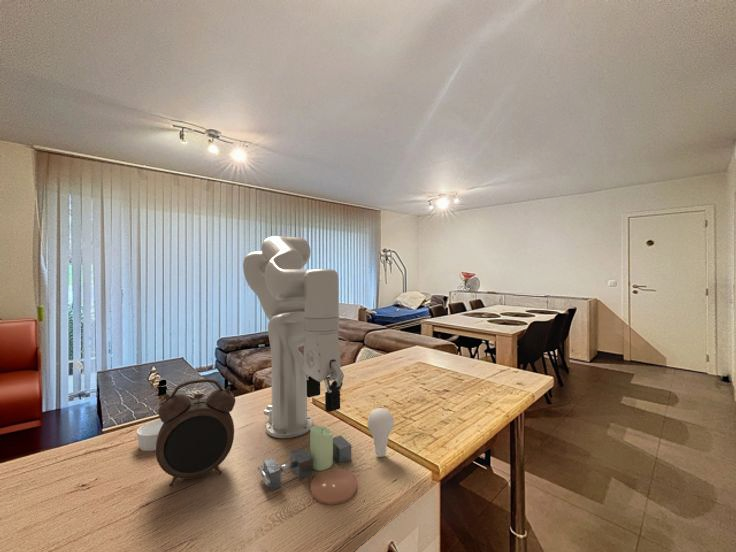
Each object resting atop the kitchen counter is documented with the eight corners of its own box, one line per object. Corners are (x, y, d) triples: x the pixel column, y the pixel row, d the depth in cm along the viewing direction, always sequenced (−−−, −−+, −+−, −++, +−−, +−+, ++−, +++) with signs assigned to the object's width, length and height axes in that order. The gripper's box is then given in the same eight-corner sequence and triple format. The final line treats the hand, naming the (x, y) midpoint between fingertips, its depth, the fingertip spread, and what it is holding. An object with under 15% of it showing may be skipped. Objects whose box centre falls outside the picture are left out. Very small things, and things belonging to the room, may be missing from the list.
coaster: (301, 493, 60) (301, 488, 60) (329, 468, 68) (329, 463, 68) (340, 511, 56) (340, 505, 56) (365, 482, 63) (365, 477, 63)
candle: (327, 455, 73) (327, 419, 73) (336, 466, 69) (336, 428, 69) (306, 461, 70) (306, 425, 70) (315, 473, 66) (315, 435, 66)
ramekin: (144, 457, 72) (144, 439, 72) (131, 445, 77) (131, 427, 77) (185, 441, 79) (185, 424, 79) (170, 430, 85) (170, 414, 84)
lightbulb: (392, 465, 69) (392, 416, 69) (364, 462, 70) (364, 413, 70) (395, 450, 75) (395, 404, 75) (370, 447, 76) (370, 402, 76)
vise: (257, 477, 65) (257, 460, 65) (339, 448, 75) (339, 434, 75) (265, 494, 60) (265, 476, 60) (352, 461, 70) (352, 445, 70)
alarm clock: (153, 498, 59) (153, 392, 59) (158, 476, 65) (158, 380, 65) (236, 475, 66) (236, 380, 65) (234, 457, 72) (233, 370, 72)
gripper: (291, 322, 74) (292, 394, 74) (323, 331, 60) (324, 421, 60) (320, 319, 79) (321, 388, 78) (356, 328, 64) (357, 412, 64)
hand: (322, 402), depth 69 cm, fingers open, 9 cm apart
